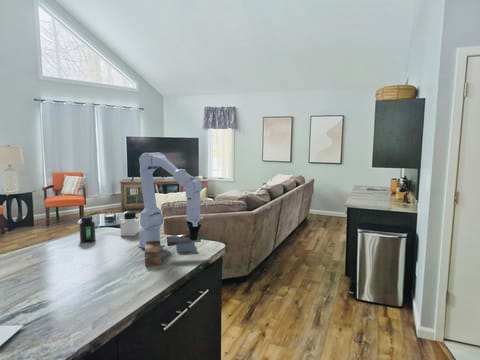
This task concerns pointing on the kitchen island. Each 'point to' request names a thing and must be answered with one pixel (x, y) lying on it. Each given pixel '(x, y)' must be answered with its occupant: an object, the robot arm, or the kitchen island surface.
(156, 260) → the beam
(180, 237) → the axle
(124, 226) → the medicine bottle
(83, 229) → the supplement bottle
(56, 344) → the kitchen island surface
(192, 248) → the v block
